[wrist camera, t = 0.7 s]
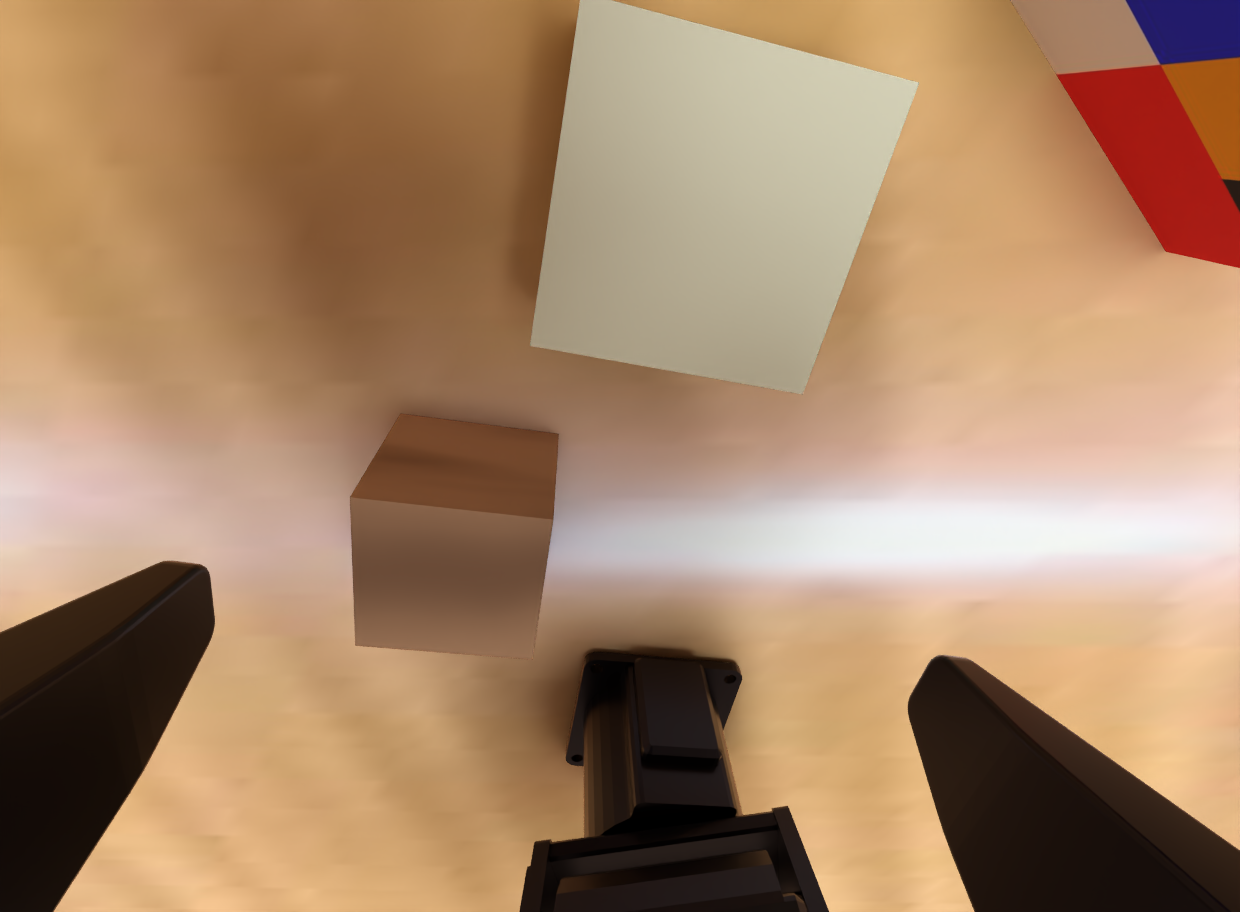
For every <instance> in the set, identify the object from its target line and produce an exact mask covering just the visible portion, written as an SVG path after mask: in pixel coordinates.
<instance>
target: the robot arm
mask: <svg viewBox="0 0 1240 912" xmlns="http://www.w3.org/2000/svg"><path fill="white" fill-rule="evenodd" d="M214 625H215V616H214V607H213V598H212V589H211V580H210V574H209V571H208V570H207V568H206V567H205V566H203V565H200V564H194V563H186V562H178V561H163V562H160V563H157V564H155V565H153V566H150V567H148V568H146V569H143V570H141V571H139V572H137V573H134V574H132V575H130V576H128V577H125V578H123V579H121V580H118V581H116V582H114V583H112V584H109V585H107V586H105V587H102V588H100V589H98V590H96V591H93V592H91V593H89V594H87V595H84V596H82V597H80V598H77V599H75V600H73V601H71V602H68V603H66V604H64V605H62V606H59V607H57V608H55V609H52V610H50V611H48V612H46V613H43V614H41V615H39V616H37V617H34V618H32V619H30V620H27V621H25V622H23V623H21V624H18V625H16V626H14V627H12V628H9V629H7V630H5V631H2V632H0V912H54V910H55V908H56V907H57V905H58V904H59V902H60V901H61V899H62V898H63V896H64V895H65V893H66V891H67V890H68V888H69V887H70V885H71V884H72V882H73V881H74V879H75V877H76V876H77V874H78V873H79V871H80V870H81V868H82V867H83V865H84V864H85V862H86V860H87V859H88V857H89V856H90V854H91V853H92V851H93V850H94V848H95V846H96V845H97V843H98V842H99V840H100V839H101V837H102V836H103V834H104V833H105V831H106V829H107V828H108V826H109V825H110V823H111V822H112V820H113V819H114V817H115V815H116V814H117V812H118V811H119V809H120V808H121V806H122V805H123V803H124V802H125V800H126V798H127V797H128V795H129V794H130V792H131V790H132V789H133V787H134V786H135V784H136V782H137V781H138V779H139V777H140V776H141V774H142V773H143V771H144V769H145V767H146V765H147V764H148V762H149V760H150V758H151V756H152V754H153V752H154V751H155V749H156V747H157V745H158V743H159V741H160V739H161V737H162V735H163V733H164V731H165V729H166V727H167V725H168V723H169V721H170V719H171V717H172V715H173V713H174V711H175V710H176V708H177V706H178V704H179V702H180V700H181V698H182V696H183V694H184V692H185V690H186V688H187V686H188V684H189V682H190V680H191V678H192V676H193V674H194V672H195V670H196V668H197V666H198V664H199V662H200V660H201V658H202V657H203V655H204V653H205V651H206V649H207V647H208V645H209V643H210V640H211V638H212V635H213V631H214ZM594 664H599V665H596V666H595V665H594ZM728 675H730V676H728ZM741 681H742V675H741V671H740V668H739V666H738V665H736V664H734V663H726V662H714V661H702V660H690V659H678V658H666V657H654V656H641V655H629V654H617V653H605V652H593V653H590V654H588V655H587V656H586V657H585V659H584V663H583V667H582V672H581V677H580V682H579V687H578V692H577V697H576V702H575V707H574V712H573V717H572V722H571V727H570V732H569V737H568V742H567V747H566V761H567V762H568V763H569V764H571V765H575V766H584V838H579V839H572V840H564V841H557V842H552V841H551V839H550V840H543V841H536V842H535V843H534V849H533V854H532V860H531V866H529V867H527V871H526V877H525V883H524V889H523V894H522V900H521V906H520V912H829V910H828V908H827V905H826V903H825V900H824V897H823V895H822V892H821V890H820V887H819V885H818V882H817V879H816V877H815V874H814V872H813V869H812V867H811V864H810V861H809V859H808V856H807V854H806V851H805V849H804V846H803V843H802V841H801V838H800V836H799V833H798V831H797V828H796V825H795V823H794V820H793V818H792V815H791V813H790V810H789V808H788V806H784V807H777V808H772V811H771V812H763V813H756V814H749V815H743V814H742V810H741V806H740V801H739V797H738V793H737V789H736V784H735V780H734V776H733V772H732V767H731V763H730V759H729V755H728V750H727V746H726V742H725V738H724V733H723V729H724V727H725V724H726V721H727V719H728V716H729V713H730V711H731V708H732V705H733V702H734V700H735V697H736V694H737V692H738V689H739V686H740V684H741ZM908 715H909V720H910V723H911V726H912V730H913V733H914V736H915V740H916V743H917V746H918V750H919V753H920V756H921V760H922V763H923V766H924V770H925V773H926V776H927V780H928V783H929V786H930V790H931V793H932V797H933V800H934V803H935V807H936V810H937V813H938V816H939V819H940V823H941V826H942V829H943V832H944V835H945V837H946V840H947V843H948V845H949V848H950V851H951V854H952V856H953V859H954V861H955V864H956V866H957V869H958V871H959V874H960V876H961V879H962V881H963V884H964V886H965V889H966V891H967V894H968V896H969V899H970V901H971V904H972V907H973V909H974V912H1240V850H1238V849H1237V848H1236V847H1234V846H1233V845H1231V844H1230V843H1229V842H1227V841H1226V840H1224V839H1223V838H1222V837H1220V836H1219V835H1217V834H1216V833H1214V832H1213V831H1212V830H1210V829H1209V828H1207V827H1206V826H1205V825H1203V824H1202V823H1200V822H1199V821H1198V820H1196V819H1195V818H1193V817H1192V816H1190V815H1189V814H1188V813H1186V812H1185V811H1183V810H1182V809H1181V808H1179V807H1178V806H1176V805H1175V804H1174V803H1172V802H1171V801H1169V800H1168V799H1166V798H1165V797H1164V796H1162V795H1161V794H1159V793H1158V792H1157V791H1155V790H1154V789H1152V788H1151V787H1150V786H1148V785H1147V784H1145V783H1144V782H1142V781H1141V780H1140V779H1138V778H1137V777H1135V776H1134V775H1133V774H1131V773H1130V772H1128V771H1127V770H1126V769H1124V768H1123V767H1121V766H1120V765H1118V764H1117V763H1116V762H1114V761H1113V760H1111V759H1110V758H1109V757H1107V756H1106V755H1104V754H1103V753H1102V752H1100V751H1099V750H1097V749H1096V748H1094V747H1093V746H1092V745H1090V744H1089V743H1087V742H1086V741H1085V740H1083V739H1082V738H1080V737H1079V736H1078V735H1076V734H1075V733H1073V732H1072V731H1070V730H1069V729H1068V728H1066V727H1065V726H1063V725H1062V724H1061V723H1059V722H1058V721H1056V720H1055V719H1054V718H1052V717H1051V716H1049V715H1048V714H1046V713H1045V712H1044V711H1042V710H1041V709H1039V708H1038V707H1037V706H1035V705H1034V704H1032V703H1031V702H1030V701H1028V700H1027V699H1025V698H1024V697H1022V696H1021V695H1020V694H1018V693H1017V692H1015V691H1014V690H1013V689H1011V688H1010V687H1008V686H1007V685H1006V684H1004V683H1003V682H1001V681H1000V680H998V679H997V678H996V677H994V676H993V675H991V674H990V673H989V672H987V671H986V670H984V669H983V668H981V667H980V666H979V665H977V664H976V663H974V662H973V661H971V660H969V659H967V658H963V657H955V656H947V655H938V656H936V657H934V658H933V659H931V661H930V662H929V664H928V665H927V667H926V669H925V671H924V672H923V674H922V676H921V678H920V679H919V681H918V683H917V685H916V686H915V688H914V690H913V692H912V693H911V695H910V698H909V701H908Z"/></svg>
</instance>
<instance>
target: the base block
mask: <svg viewBox="0 0 1240 912" xmlns="http://www.w3.org/2000/svg"><path fill="white" fill-rule="evenodd" d="M918 85H919V82H915V81H911V80H907V79H904V78H900V77H896V76H892V75H889V74H885V73H881V72H878V71H874V70H870V69H866V68H863V67H859V66H855V65H851V64H848V63H844V62H840V61H836V60H833V59H829V58H825V57H822V56H818V55H814V54H810V53H807V52H803V51H799V50H795V49H792V48H788V47H784V46H780V45H777V44H773V43H769V42H765V41H762V40H758V39H754V38H751V37H747V36H743V35H739V34H736V33H732V32H728V31H724V30H721V29H717V28H713V27H709V26H706V25H702V24H698V23H695V22H691V21H687V20H683V19H680V18H676V17H672V16H668V15H665V14H661V13H657V12H653V11H650V10H646V9H642V8H639V7H635V6H631V5H627V4H624V3H620V2H616V1H612V0H580V4H579V11H578V18H577V25H576V32H575V39H574V46H573V52H572V59H571V66H570V73H569V80H568V87H567V94H566V101H565V108H564V114H563V121H562V128H561V135H560V142H559V149H558V156H557V163H556V169H555V176H554V183H553V190H552V197H551V204H550V211H549V218H548V224H547V231H546V238H545V245H544V252H543V259H542V266H541V273H540V280H539V286H538V293H537V300H536V307H535V314H534V321H533V328H532V335H531V341H530V346H533V347H539V348H544V349H550V350H556V351H561V352H567V353H572V354H578V355H584V356H589V357H595V358H600V359H606V360H612V361H617V362H623V363H629V364H634V365H640V366H645V367H651V368H657V369H662V370H668V371H673V372H679V373H685V374H690V375H696V376H701V377H707V378H713V379H718V380H724V381H730V382H735V383H741V384H746V385H752V386H758V387H763V388H769V389H774V390H780V391H786V392H791V393H797V394H802V395H803V392H804V390H805V387H806V384H807V382H808V379H809V376H810V374H811V371H812V368H813V366H814V363H815V360H816V357H817V355H818V352H819V349H820V347H821V344H822V341H823V339H824V336H825V333H826V331H827V328H828V325H829V323H830V320H831V317H832V315H833V312H834V309H835V307H836V304H837V301H838V299H839V296H840V293H841V291H842V288H843V285H844V283H845V280H846V277H847V275H848V272H849V269H850V267H851V264H852V261H853V259H854V256H855V253H856V251H857V248H858V245H859V243H860V240H861V237H862V234H863V232H864V229H865V226H866V224H867V221H868V218H869V216H870V213H871V210H872V208H873V205H874V202H875V200H876V197H877V194H878V192H879V189H880V186H881V184H882V181H883V178H884V176H885V173H886V170H887V168H888V165H889V162H890V160H891V157H892V154H893V152H894V149H895V146H896V144H897V141H898V138H899V136H900V133H901V130H902V128H903V125H904V122H905V120H906V117H907V114H908V111H909V109H910V106H911V103H912V101H913V98H914V95H915V93H916V90H917V87H918Z"/></svg>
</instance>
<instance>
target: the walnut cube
mask: <svg viewBox="0 0 1240 912" xmlns="http://www.w3.org/2000/svg"><path fill="white" fill-rule="evenodd" d="M558 438H559V434H555V433H547V432H539V431H532V430H524V429H516V428H508V427H500V426H493V425H485V424H477V423H469V422H462V421H454V420H446V419H438V418H431V417H423V416H415V415H407V414H400V416H399V417H398V419H397V421H396V422H395V424H394V426H393V427H392V429H391V430H390V432H389V434H388V435H387V437H386V439H385V440H384V442H383V444H382V445H381V447H380V449H379V450H378V452H377V454H376V455H375V457H374V459H373V460H372V462H371V463H370V465H369V467H368V468H367V470H366V472H365V473H364V475H363V477H362V478H361V480H360V482H359V483H358V485H357V487H356V488H355V490H354V492H353V493H352V495H351V497H350V512H351V539H352V566H353V593H354V620H355V646H367V647H379V648H392V649H404V650H417V651H430V652H442V653H455V654H467V655H480V656H492V657H505V658H518V659H530V660H533V653H534V646H535V640H536V633H537V626H538V619H539V613H540V606H541V599H542V592H543V586H544V579H545V572H546V565H547V558H548V552H549V545H550V538H551V531H552V525H553V515H554V500H555V484H556V469H557V453H558Z"/></svg>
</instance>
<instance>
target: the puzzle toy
mask: <svg viewBox="0 0 1240 912" xmlns="http://www.w3.org/2000/svg"><path fill="white" fill-rule="evenodd" d="M1010 1H1011V2H1012V4H1013V6H1014V7H1015V9H1016V11H1017V12H1018V14H1019V15H1020V17H1021V19H1022V20H1023V22H1024V23H1025V25H1026V27H1027V28H1028V30H1029V31H1030V33H1031V35H1032V36H1033V38H1034V40H1035V41H1036V43H1037V44H1038V46H1039V48H1040V49H1041V51H1042V52H1043V54H1044V56H1045V57H1046V59H1047V61H1048V62H1049V64H1050V65H1051V67H1052V69H1053V70H1054V72H1055V73H1056V75H1057V77H1058V78H1059V80H1060V81H1061V83H1062V85H1063V86H1064V88H1065V90H1066V91H1067V93H1068V94H1069V96H1070V98H1071V99H1072V101H1073V102H1074V104H1075V106H1076V107H1077V109H1078V111H1079V112H1080V114H1081V115H1082V117H1083V119H1084V120H1085V122H1086V123H1087V125H1088V127H1089V128H1090V130H1091V132H1092V133H1093V135H1094V136H1095V138H1096V140H1097V141H1098V143H1099V144H1100V146H1101V148H1102V149H1103V151H1104V152H1105V154H1106V156H1107V157H1108V159H1109V161H1110V162H1111V164H1112V165H1113V167H1114V169H1115V170H1116V172H1117V173H1118V175H1119V177H1120V178H1121V180H1122V182H1123V183H1124V185H1125V186H1126V188H1127V190H1128V191H1129V193H1130V194H1131V196H1132V198H1133V199H1134V201H1135V203H1136V204H1137V206H1138V207H1139V209H1140V211H1141V212H1142V214H1143V215H1144V217H1145V219H1146V220H1147V222H1148V223H1149V225H1150V227H1151V228H1152V230H1153V232H1154V233H1155V235H1156V236H1157V238H1158V240H1159V241H1160V243H1161V244H1162V246H1163V248H1164V249H1165V251H1166V252H1170V253H1175V254H1179V255H1184V256H1188V257H1193V258H1197V259H1202V260H1206V261H1211V262H1215V263H1220V264H1224V265H1228V266H1233V267H1237V268H1240V0H1010Z"/></svg>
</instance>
